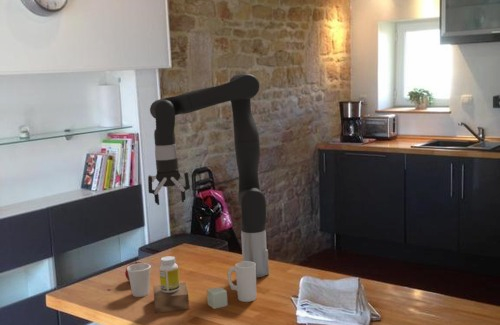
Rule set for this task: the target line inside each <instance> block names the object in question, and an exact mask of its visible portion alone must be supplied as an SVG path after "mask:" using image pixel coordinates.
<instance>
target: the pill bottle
mask: <svg viewBox="0 0 500 325" xmlns="http://www.w3.org/2000/svg"><path fill="white" fill-rule="evenodd" d="M160 258H161V259H160V263H161V265H159V266H158V267H159V268H158V269H159V281H160V282H159V283H160V285H161V291H162V292H164V293H173V292H176V291H178V290H179V283H180V277H179V265H178V264H177V263H176V257H175V256H171V255H169V256H168V255H167V256H162V257H160Z"/></svg>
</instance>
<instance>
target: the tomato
mask: <svg viewBox="0 0 500 325" xmlns="http://www.w3.org/2000/svg"><path fill="white" fill-rule="evenodd" d="M137 263H143V262H141V261H135V262H131V263H129V264H128V265H127V267H128V266H130V265H133V264H137ZM127 267H126V269H125V272H124V274H125V278H126V279H127V281H128V282H130V280H129V275H128V271H127Z"/></svg>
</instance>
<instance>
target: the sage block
mask: <svg viewBox="0 0 500 325" xmlns="http://www.w3.org/2000/svg"><path fill="white" fill-rule="evenodd" d="M206 297H207V304H208V306H209V307H211V308H212V309H214V310H215V309H219V308H220V309H221V308H224V307H227V306H228V292H227V290H226V289H225V288H223V287H221V286H217V287H213V288H210V289H206Z"/></svg>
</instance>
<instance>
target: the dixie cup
mask: <svg viewBox="0 0 500 325" xmlns="http://www.w3.org/2000/svg"><path fill="white" fill-rule="evenodd" d="M129 265H130V264H129ZM151 267H152V266H151V264H149V263H147V262H146V263H145V262H142V263H137V264H133V265H130V266H128V265H127V267H126V268H127V271H128V275H129V280H130V281H129V280H128V281H129V284H130V288H131V293H132V296H133V297H136V298H141V297H142V298H143V297H145V296H148V295H149V294H150V278H151Z"/></svg>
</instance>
